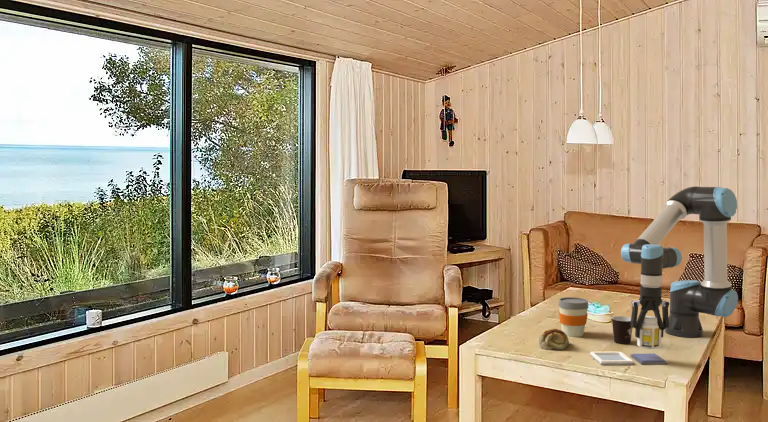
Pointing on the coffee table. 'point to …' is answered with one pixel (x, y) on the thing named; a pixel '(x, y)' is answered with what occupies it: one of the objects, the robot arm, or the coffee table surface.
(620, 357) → the picture frame
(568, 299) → the reusable coffee cup
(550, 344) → the pastry
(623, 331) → the coffee mug
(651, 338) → the supplement bottle
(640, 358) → the ink pad
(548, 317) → the coffee table surface
